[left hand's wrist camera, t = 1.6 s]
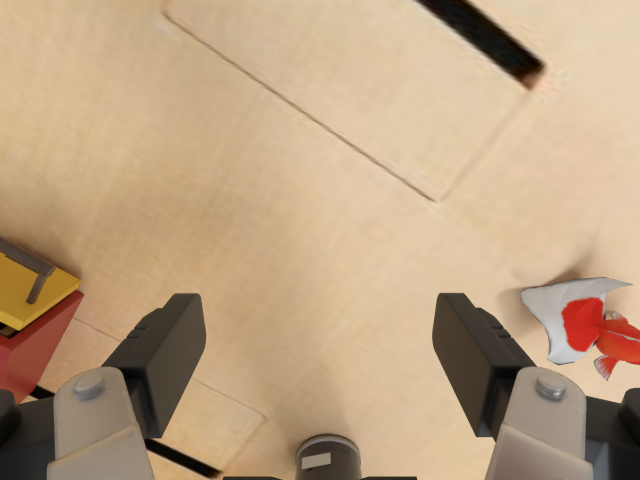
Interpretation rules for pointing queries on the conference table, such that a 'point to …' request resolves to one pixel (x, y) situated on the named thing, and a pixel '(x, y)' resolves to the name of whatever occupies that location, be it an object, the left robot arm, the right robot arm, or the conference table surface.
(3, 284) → the drawer
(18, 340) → the cabinet
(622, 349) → the fish
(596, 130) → the conference table surface
